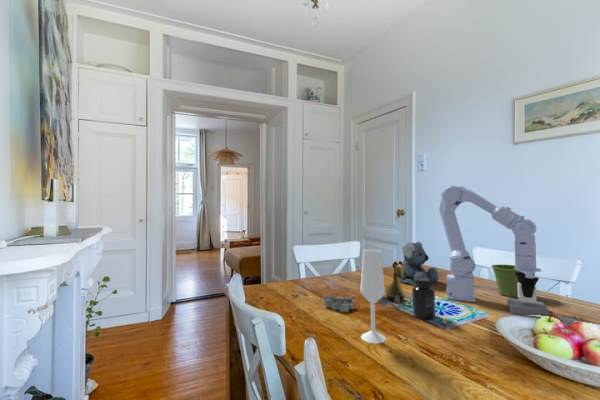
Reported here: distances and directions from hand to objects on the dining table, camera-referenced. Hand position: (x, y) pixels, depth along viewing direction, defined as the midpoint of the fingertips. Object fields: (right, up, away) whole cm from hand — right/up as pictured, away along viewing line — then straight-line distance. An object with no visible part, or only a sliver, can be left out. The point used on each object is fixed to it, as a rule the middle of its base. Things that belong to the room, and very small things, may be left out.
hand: (526, 295), depth 100 cm
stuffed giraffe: (-39, -7, +14) cm, 42 cm away
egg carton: (-63, -7, +6) cm, 64 cm away
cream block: (0, -2, 0) cm, 2 cm away
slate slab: (0, -6, 0) cm, 6 cm away
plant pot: (+7, -6, +19) cm, 21 cm away
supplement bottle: (-36, -6, -3) cm, 37 cm away
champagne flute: (-57, -6, -19) cm, 60 cm away
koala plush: (-23, -7, +41) cm, 47 cm away
